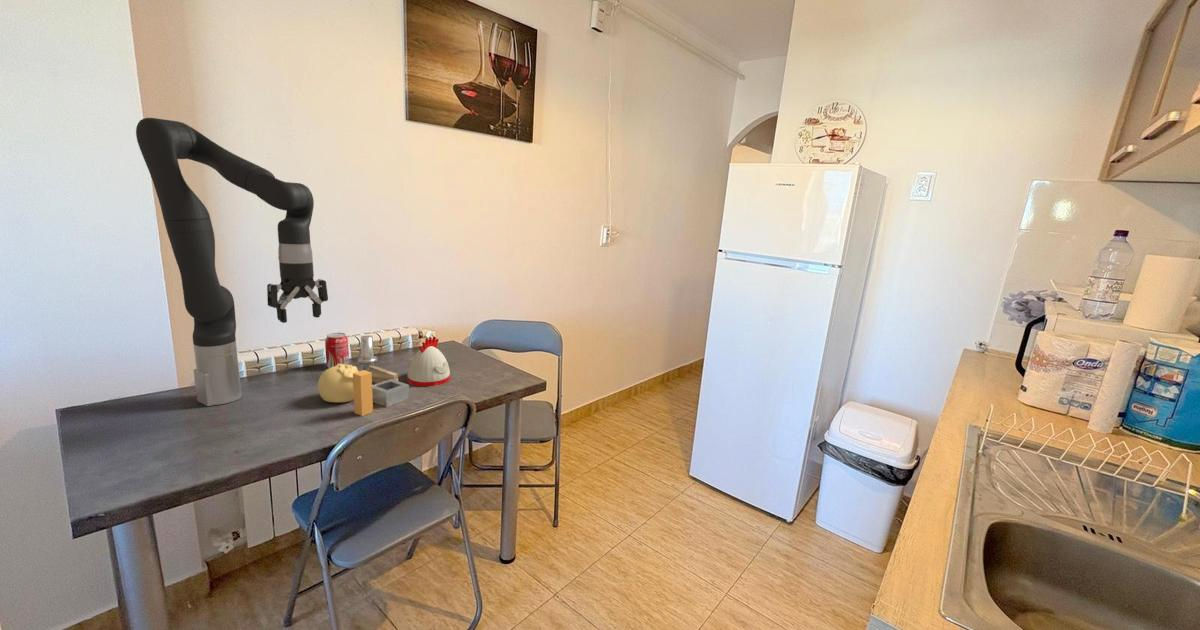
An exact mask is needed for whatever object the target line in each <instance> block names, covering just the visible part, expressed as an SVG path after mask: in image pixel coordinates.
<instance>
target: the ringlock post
mask: <svg viewBox="0 0 1200 630" xmlns="http://www.w3.org/2000/svg"><path fill="white" fill-rule="evenodd" d="M373 340H374V338H373V335H362V336H360V350H361V351H360V354H361V356H359V357H358V358H357V363H358V364H361V371H362V370H365V371H368V372H370V369H369V367H370V366H375V363H377V362H378V356H376V355H374V341H373Z"/></svg>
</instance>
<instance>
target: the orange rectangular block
mask: <svg viewBox="0 0 1200 630" xmlns="http://www.w3.org/2000/svg"><path fill="white" fill-rule="evenodd" d="M358 371H359V372H355V373H353V391H354V399H353V406H354V407H353V409H354V410H353V411H354V414H356V415H359V416H361V417H363V416H365V415H368V414H371V413H373V412H374V404H373V403H374V402H373V396H372V385H373V382H372V373H371V372H368V371H365V370H362V369H361V370H358Z"/></svg>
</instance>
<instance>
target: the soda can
mask: <svg viewBox="0 0 1200 630" xmlns="http://www.w3.org/2000/svg"><path fill="white" fill-rule="evenodd" d="M324 344H325V345H324V346H325V348H324V350H325V351H324V352H325V361H326V367H327V369H329V368H331V367H334V366H336V365H337V364H348V365H350V364H349V363H350V355H349V354H350V351H349V349H350V348H349V339H348V337H347V336H346V333H344V332H331V333H327V334H326V338H325V340H324Z"/></svg>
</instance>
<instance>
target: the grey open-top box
mask: <svg viewBox="0 0 1200 630" xmlns="http://www.w3.org/2000/svg"><path fill="white" fill-rule="evenodd" d="M372 396H373V403H375V404H377V405H380V406H383V407H386V408H388V407H390V406H394V405H395V404H399V403H401V402H403V401H406V400H409V399H410V384H408V383H404V382H401V381H399V380H398V381H396V380H393V379H389V380H386V381H383V382H380V383H374V384H372Z"/></svg>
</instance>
